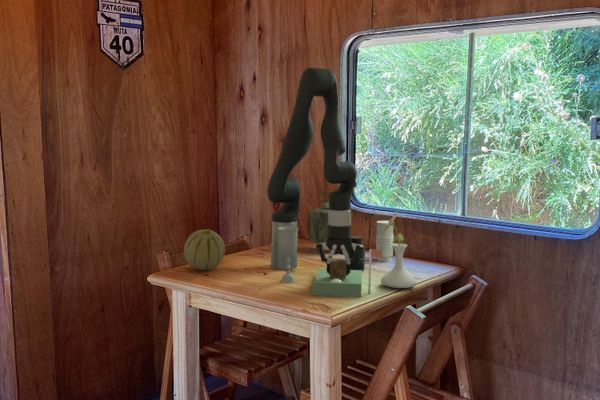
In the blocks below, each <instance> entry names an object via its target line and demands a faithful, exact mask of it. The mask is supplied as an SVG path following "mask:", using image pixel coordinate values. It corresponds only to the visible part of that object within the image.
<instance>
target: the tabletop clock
mask: <svg viewBox="0 0 600 400" xmlns="http://www.w3.org/2000/svg"><path fill="white" fill-rule="evenodd" d="M331 192H332V191H325V190H324V191H322V192H320V193H319V195H318V197H319V199H320V200H321V201H322V203H321V205H320V207H318V208H314V209H312V210H309V213H308V216H307V237H308V240H309V241H310V242H312V243H314V244H315V243H317V244H316V245H315V247H316V249H319V248H318V244H319V243H325V242H326V241H327V239H328V213H329V197H328V198H327V197H326V198H322V194H328V195H330V193H331ZM325 251H326V248H325V249H324V253H326V252H325Z"/></svg>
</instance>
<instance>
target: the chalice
mask: <svg viewBox="0 0 600 400" xmlns="http://www.w3.org/2000/svg"><path fill="white" fill-rule="evenodd" d="M278 229H279V231H280V246H281V249H282V251H283V253H284V255H286V256H287V261H286V262H287V266H286V268H287V270H286V272H285V273H284V274H283V275H282V278H281V280H280V282H281V283H284V284H294V283H296V280H295V279H296V278H295V275H293V274H292V273H291V269H290V268H291V267H290V262H291V261H290V256H291V255H293V253H294V250H295V248H296V245H297V246H298V234H299V233H298V231H299V230H300V228H299V227H298V226H297V227H280V228H278Z"/></svg>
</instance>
